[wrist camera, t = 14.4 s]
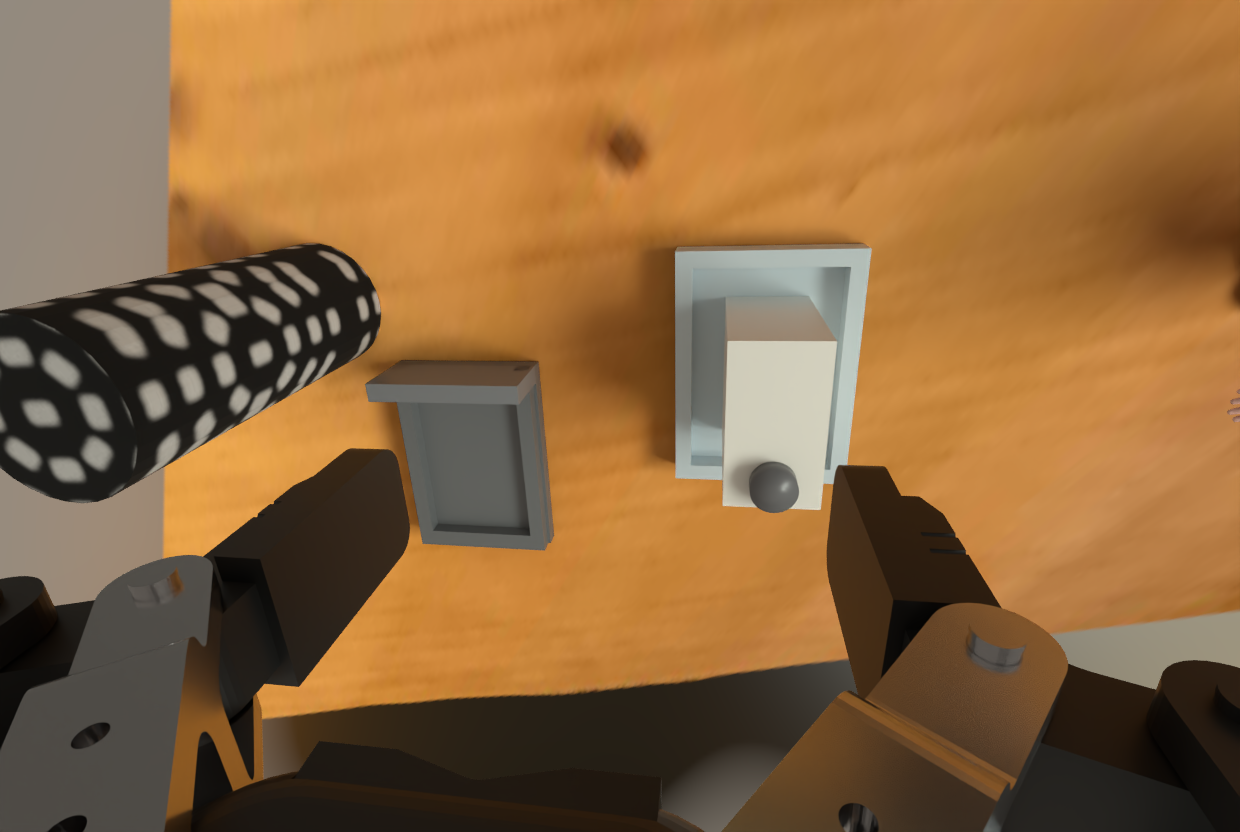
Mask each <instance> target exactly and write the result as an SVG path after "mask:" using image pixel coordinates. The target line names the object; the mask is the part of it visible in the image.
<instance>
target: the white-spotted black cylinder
mask: <svg viewBox="0 0 1240 832" xmlns="http://www.w3.org/2000/svg"><path fill="white" fill-rule="evenodd" d="M380 320H381V311H380V303H379V299H378V296H377V293H376V290H375V288H374V286H373V284H372V282H371V280H370V278H369V277H368V276H367V274H366V273H365V272H364V270H363V269H362V268H361V267H360V266H359V265H358V264H357V263H356V262H355V261H354V260H353V259H352V258H350V257H349V256H348V255H346V254H345V253H343V252H342V251H339V250H337V249H335V248H333V247H331V246H327V245H323V244H315V243H307V244H301V245H296V246H292V247H287V248H283V249H278V250H273V251H269V252H264V253H260V254H255V255H251V256H246V257H242V258H237V259H233V260H228V261H224V262H219V263H214V264H210V265H205V266H201V267H196V268H192V269H187V270H183V271H178V272H174V273H169V274H165V275H160V276H156V277H151V278H147V279H142V280H137V281H133V282H129V283H124V284H119V285H115V286H110V287H106V288H102V289H97V290H92V291H87V292H83V293H78V294H74V295H70V296H65V297H60V298H56V299H51V300H47V301H42V302H38V303H33V304H28V305H25V306H19V307H15V308H10V309H6V310H2V311H0V468H1V469H2V470H4V471H5V472H6V473H8V474H9V475H10V476H12V477H13V478H14V479H16V480H17V481H19V482H21V483H22V484H24V485H25V486H27V487H29V488H31V489H33V490H35V491H37V492H40V493H42V494H44V495H46V496H49V497H52V498H56V499H59V500H63V501H68V502H77V503H88V502H98V501H100V500H104V499H106V498H109V497H112V496H113V495H115V494H117V493H119V492H121V491H122V490H124V489H126V488H128V487H129V486H131V485H133V484H135V483H136V482H138V481H140V480H142V479H144V478H145V477H147V476H149V475H150V474H152V473H154V472H156V471H157V470H159V469H161V468H163V467H165V466H166V465H168V464H170V463H172V462H174V461H175V460H177V459H179V458H181V457H182V456H184V455H186V454H188V453H189V452H191V451H193V450H195V449H196V448H198V447H200V446H202V445H204V444H205V443H207V442H209V441H211V440H212V439H214V438H216V437H218V436H219V435H221V434H223V433H225V432H226V431H228V430H230V429H232V428H234V427H235V426H237V425H239V424H241V423H242V422H244V421H246V420H248V419H249V418H251V417H253V416H255V415H256V414H258V413H260V412H262V411H263V410H265V409H267V408H269V407H271V406H272V405H274V404H276V403H278V402H279V401H281V400H283V399H285V398H286V397H288V396H290V395H292V394H293V393H295V392H297V391H299V390H301V389H302V388H304V387H306V386H308V385H309V384H311V383H313V382H315V381H316V380H318V379H320V378H322V377H323V376H325V375H327V374H329V373H331V372H332V371H334V370H336V369H338V368H339V367H341V366H343V365H345V364H346V363H348V362H350V361H352V360H353V359H355V358H357V357H359V356H360V355H362V354H363V353H364V352H366V351H367V350H368V349H369V348H370V346H371V345H372V344H373V342H374V340H375V339H376V337H377V335H378V331H379V327H380Z"/></svg>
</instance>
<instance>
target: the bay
mask: <svg viewBox="0 0 1240 832" xmlns="http://www.w3.org/2000/svg"><path fill="white" fill-rule="evenodd" d="M365 386H366V391H367V396H368V401H369V402H397V407H398V412H399V417H400V423H401V428H402V434H403V439H404V445H405V450H406V455H407V461H408V466H409V472H410V477H411V482H412V488H413V493H414V499H415V504H416V510H417V515H418V520H419V526H420V531H421V537H422V542H423V544H438V545H456V546H474V547H492V548H511V549H529V550H545V549H546V547H547V544H548V543H551V541H552V539H553V537H554V530H553V519H552V508H551V497H550V485H549V474H548V463H547V452H546V441H545V430H544V419H543V407H542V396H541V385H540V374H539V363H538V362H531V361H426V360H401V361H400V362H398V363H396V364H395V365H393V366H392V367H390V368H389V369H387V370H386V371H384V372H383V373H381V374H380V375H378V376H377V377H375V378H374V379H372V380H371V381H369V382H367V383H366V384H365Z"/></svg>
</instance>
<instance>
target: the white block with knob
mask: <svg viewBox="0 0 1240 832" xmlns="http://www.w3.org/2000/svg"><path fill="white" fill-rule="evenodd" d="M836 348H837V340H836V339H835V337H834V335H833V334H832V332H831V331H830V329H829V327H828V326H827V324H826V323H825V321H824V319H823V318H822V316H821V315H820V313H819V311H818V310H817V308H816V307H815V305H814V303H813V302H812V300H811V299H810V297H809V296H755V297H726V298H725V334H724V370H723V406H722V490H723V506H739V507H758V508H759V509H761V510H763V511H765V512H769V513H779V512H783V511H786V510H788V509H811V510H821V500H822V490H823V480H824V470H825V460H826V450H827V440H828V429H829V419H830V409H831V399H832V389H833V379H834V369H835V358H836Z"/></svg>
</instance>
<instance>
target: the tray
mask: <svg viewBox="0 0 1240 832" xmlns="http://www.w3.org/2000/svg"><path fill="white" fill-rule="evenodd" d="M871 249H872V248H870V247H869V246H867V245H865V244H864V243H862V244H805V245H748V246H690V247H677V249H676V251H675V397H676V478H686V479H714V480H722V406H723V370H724V334H725V298H726V297H755V296H809V297H810V299H811V300H812V302H813V303H814V305H815V307H816V308H817V310H818V311H819V313H820V315H821V316H822V318H823V319H824V321H825V323H826V324H827V326H828V327H829V329H830V331H831V332H832V334H833V335H834V337H835V339H836V340H837V348H836V358H835V369H834V379H833V389H832V399H831V409H830V419H829V429H828V440H827V450H826V460H825V470H824V480H823V483H824V484H834V476H835V471H836V468H837V466H838V465H847V460H848V451H849V442H850V433H851V425H852V416H853V407H854V398H855V390H856V381H857V372H858V363H859V355H860V346H861V337H862V328H863V319H864V311H865V302H866V293H867V284H868V276H869V267H870V258H871Z"/></svg>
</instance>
